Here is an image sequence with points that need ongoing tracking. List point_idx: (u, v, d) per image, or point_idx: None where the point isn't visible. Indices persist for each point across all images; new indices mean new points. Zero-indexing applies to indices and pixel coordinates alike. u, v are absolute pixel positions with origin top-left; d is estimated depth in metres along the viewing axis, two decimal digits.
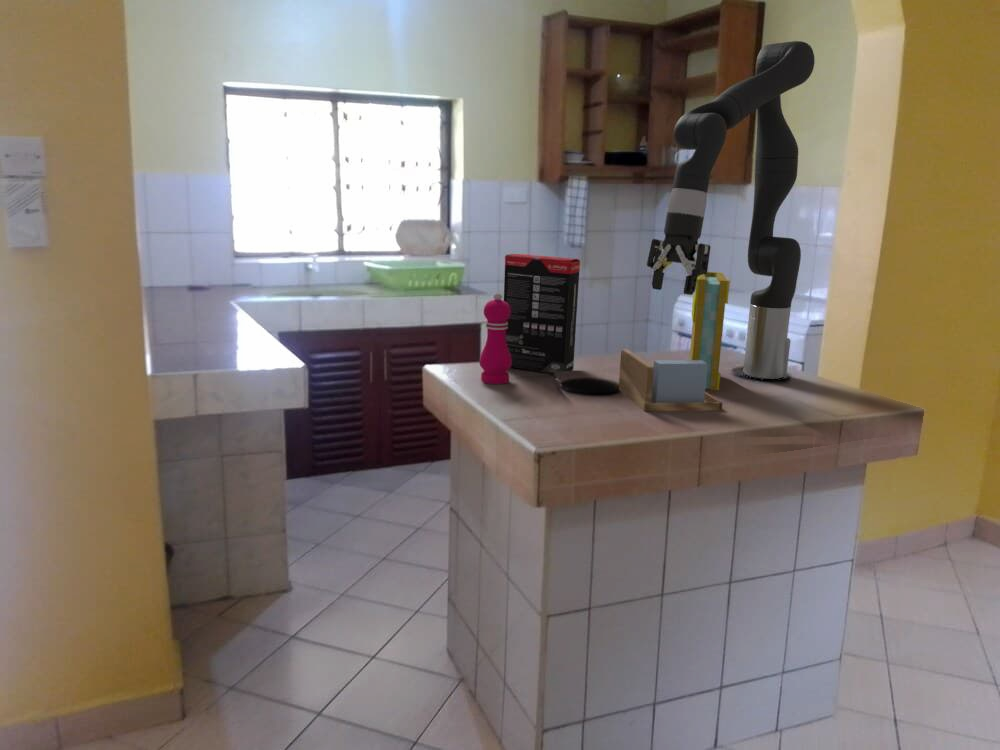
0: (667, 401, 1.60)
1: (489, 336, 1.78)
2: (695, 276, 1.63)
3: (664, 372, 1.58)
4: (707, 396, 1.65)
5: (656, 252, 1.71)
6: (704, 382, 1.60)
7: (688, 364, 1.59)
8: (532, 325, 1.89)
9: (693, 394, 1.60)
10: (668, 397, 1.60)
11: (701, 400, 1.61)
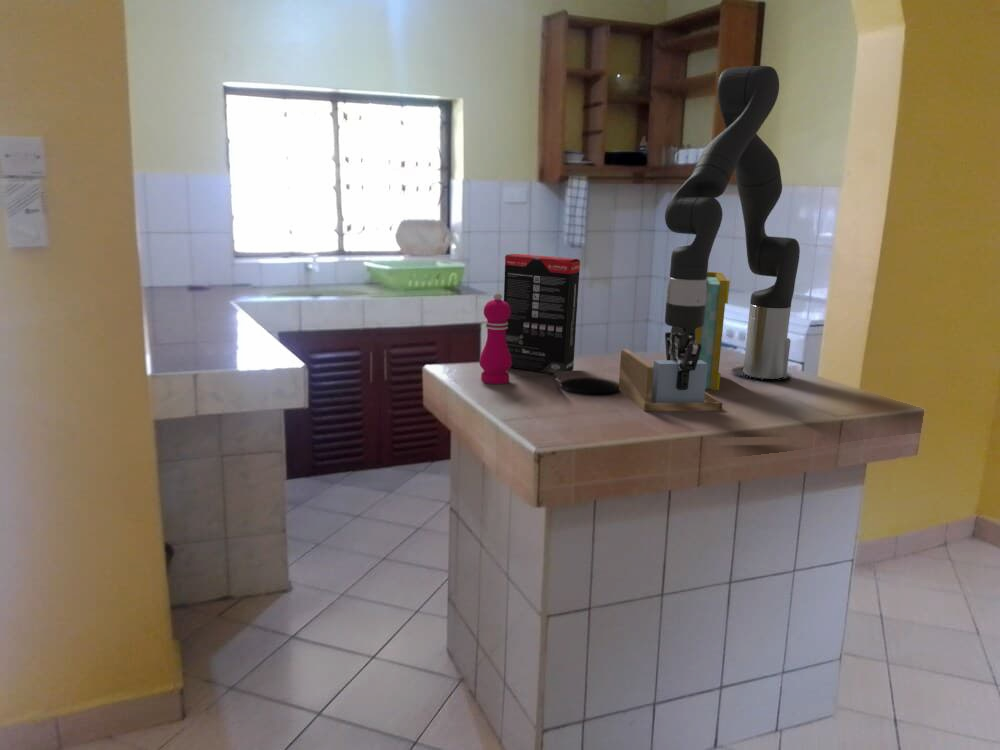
0: (667, 401, 1.60)
1: (489, 336, 1.78)
2: (684, 373, 1.58)
3: (664, 372, 1.58)
4: (707, 396, 1.65)
5: None
6: (704, 382, 1.60)
7: None
8: (532, 325, 1.89)
9: (693, 394, 1.60)
10: (668, 397, 1.60)
11: (701, 400, 1.61)
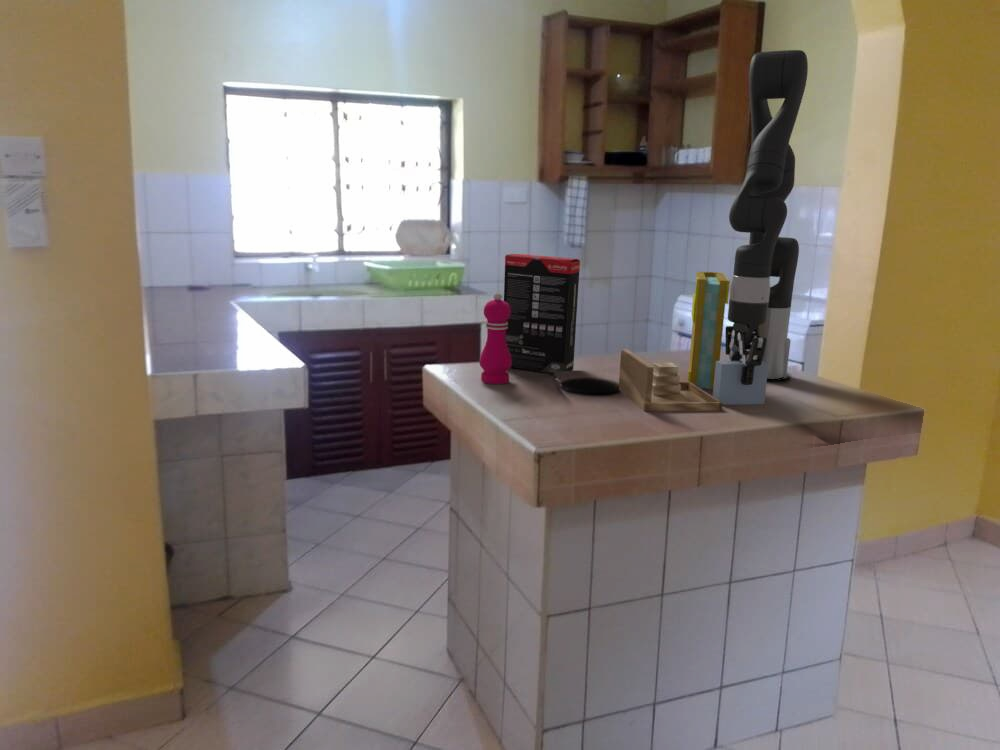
0: (728, 400, 1.64)
1: (489, 336, 1.78)
2: (750, 368, 1.61)
3: (727, 373, 1.63)
4: (707, 396, 1.65)
5: (731, 339, 1.68)
6: (765, 382, 1.64)
7: None
8: (532, 325, 1.89)
9: (754, 393, 1.65)
10: (730, 397, 1.64)
11: (762, 399, 1.65)
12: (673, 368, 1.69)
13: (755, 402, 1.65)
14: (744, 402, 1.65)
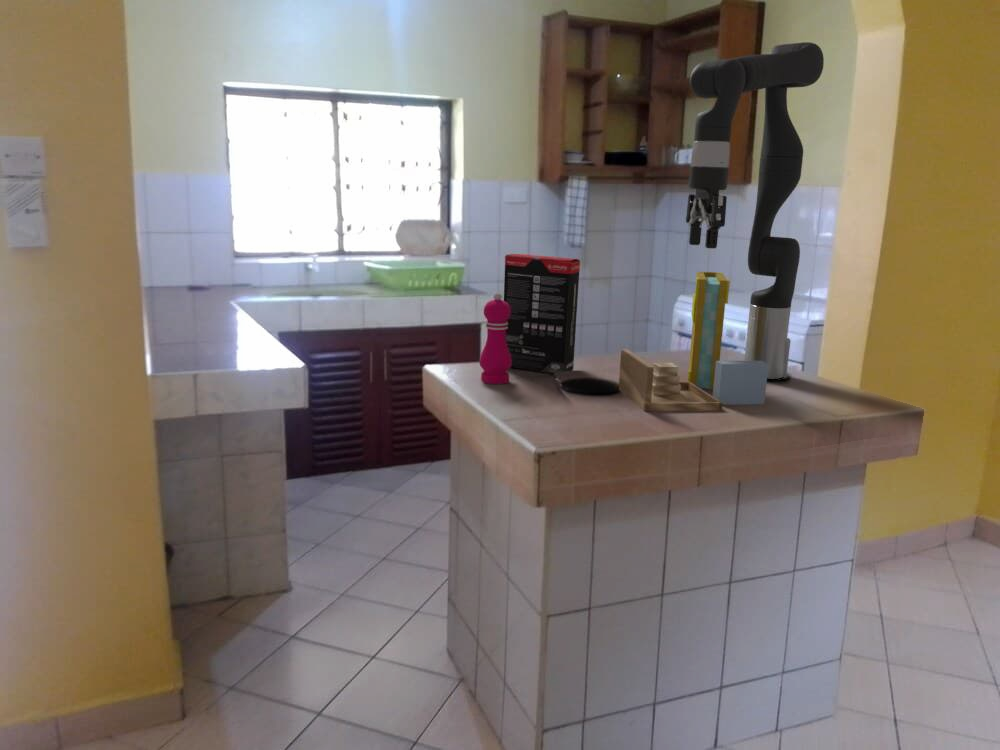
0: (728, 400, 1.64)
1: (489, 336, 1.78)
2: (714, 229, 1.60)
3: (727, 373, 1.63)
4: (707, 396, 1.65)
5: None
6: (765, 382, 1.64)
7: (750, 364, 1.63)
8: (532, 325, 1.89)
9: (754, 393, 1.65)
10: (730, 397, 1.64)
11: (762, 399, 1.65)
12: (673, 368, 1.69)
13: (755, 402, 1.65)
14: (744, 402, 1.65)
